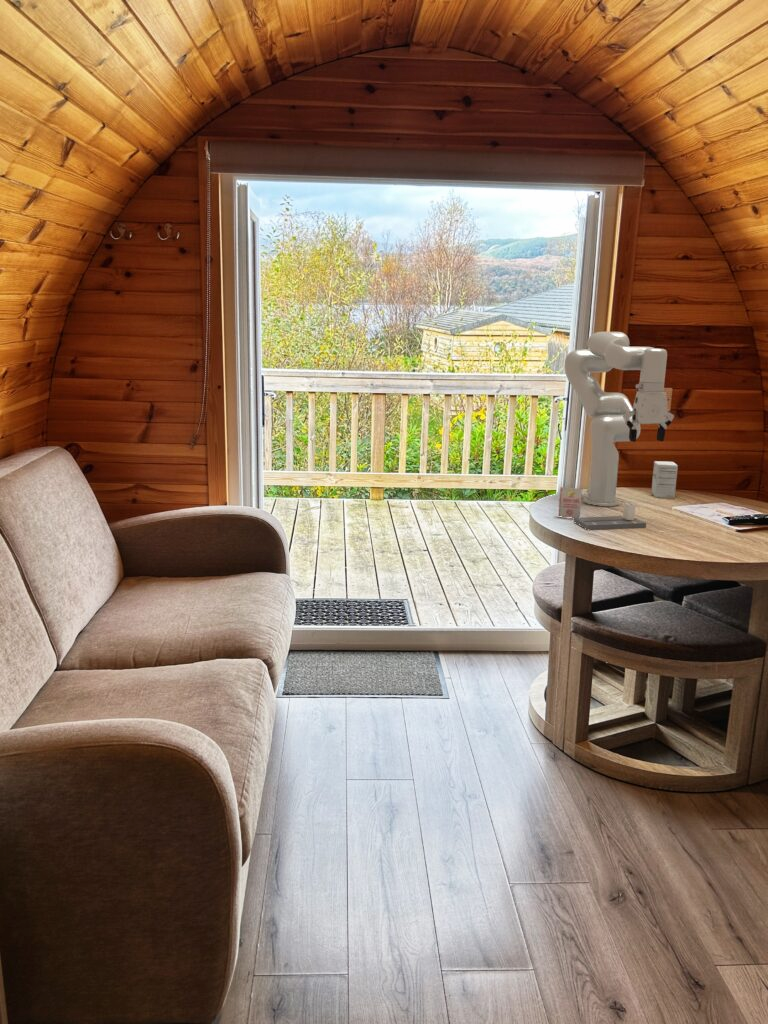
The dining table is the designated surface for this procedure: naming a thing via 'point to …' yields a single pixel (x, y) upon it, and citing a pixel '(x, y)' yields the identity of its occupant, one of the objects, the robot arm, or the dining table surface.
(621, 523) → the fader board
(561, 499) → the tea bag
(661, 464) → the supplement box
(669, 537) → the dining table surface
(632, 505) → the fader knob
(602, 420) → the robot arm
